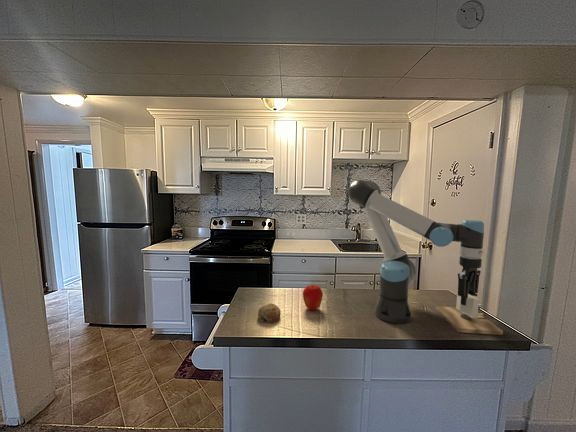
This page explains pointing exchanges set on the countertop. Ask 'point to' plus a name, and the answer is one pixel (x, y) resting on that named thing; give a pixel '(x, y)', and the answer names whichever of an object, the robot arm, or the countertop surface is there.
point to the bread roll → (269, 313)
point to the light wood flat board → (468, 322)
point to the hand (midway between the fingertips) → (466, 310)
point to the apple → (312, 297)
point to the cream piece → (469, 307)
